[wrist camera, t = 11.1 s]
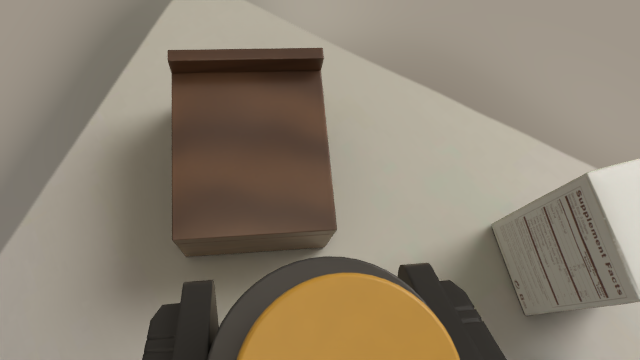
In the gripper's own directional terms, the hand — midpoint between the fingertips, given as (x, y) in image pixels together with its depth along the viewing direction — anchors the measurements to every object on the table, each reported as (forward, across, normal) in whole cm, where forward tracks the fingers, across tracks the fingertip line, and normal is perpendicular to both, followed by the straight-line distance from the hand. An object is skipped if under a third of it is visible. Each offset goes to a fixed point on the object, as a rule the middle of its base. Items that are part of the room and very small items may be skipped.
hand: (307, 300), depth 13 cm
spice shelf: (+25, +1, +8) cm, 26 cm away
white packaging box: (+19, -21, +14) cm, 32 cm away
